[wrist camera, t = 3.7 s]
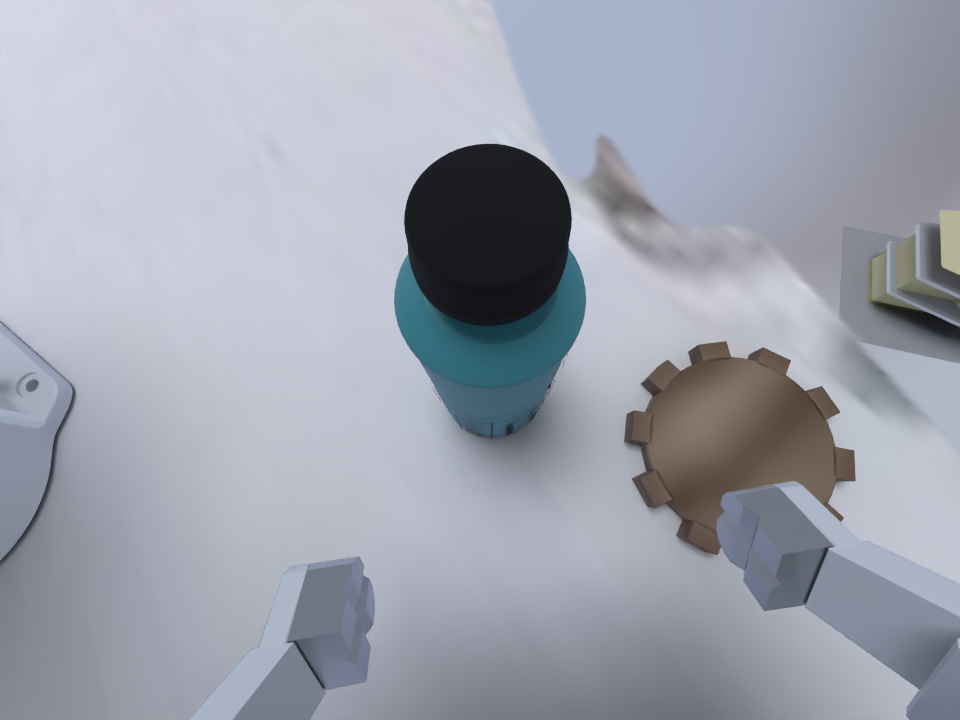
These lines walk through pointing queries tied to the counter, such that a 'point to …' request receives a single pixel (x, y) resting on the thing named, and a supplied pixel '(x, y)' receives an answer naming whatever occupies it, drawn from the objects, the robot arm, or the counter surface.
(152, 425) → the counter surface
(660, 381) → the gear plate
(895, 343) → the stacked layers on plate
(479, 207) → the beverage bottle
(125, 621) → the counter surface
